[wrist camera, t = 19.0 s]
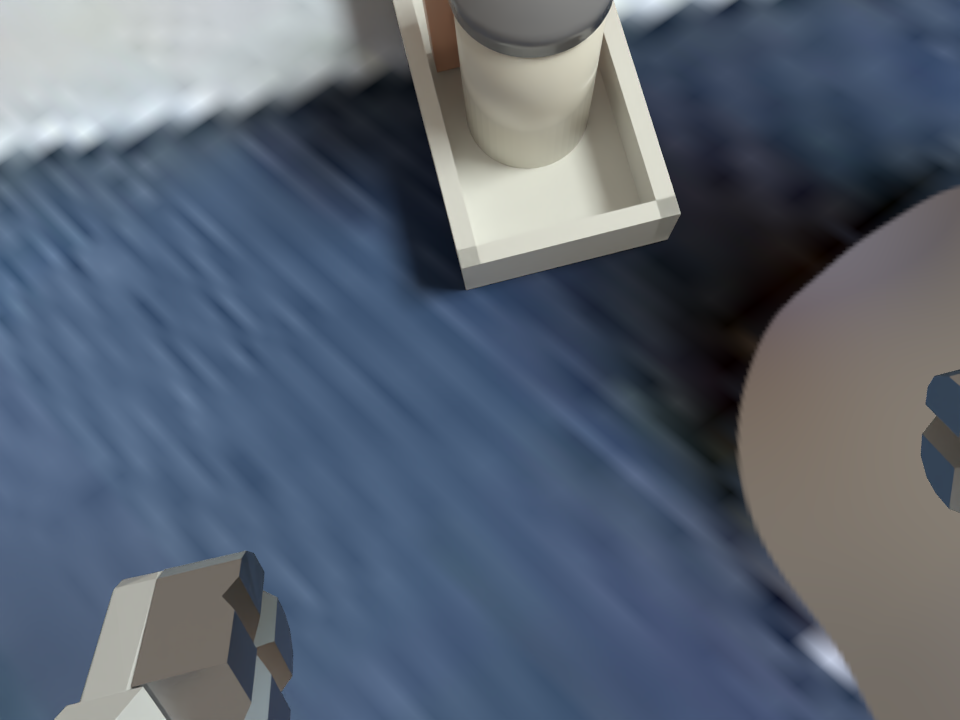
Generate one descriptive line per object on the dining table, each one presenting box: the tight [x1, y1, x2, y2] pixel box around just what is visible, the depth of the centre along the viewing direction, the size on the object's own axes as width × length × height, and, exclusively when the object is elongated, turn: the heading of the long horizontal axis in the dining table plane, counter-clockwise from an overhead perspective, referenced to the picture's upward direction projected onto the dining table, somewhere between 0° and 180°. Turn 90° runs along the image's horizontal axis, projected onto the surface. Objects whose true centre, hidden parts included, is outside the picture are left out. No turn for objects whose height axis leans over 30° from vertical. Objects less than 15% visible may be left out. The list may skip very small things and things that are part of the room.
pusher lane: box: [392, 0, 681, 290], centre depth 34 cm, size 9×20×10 cm, turn 14°
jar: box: [448, 0, 613, 169], centre depth 33 cm, size 6×6×11 cm
